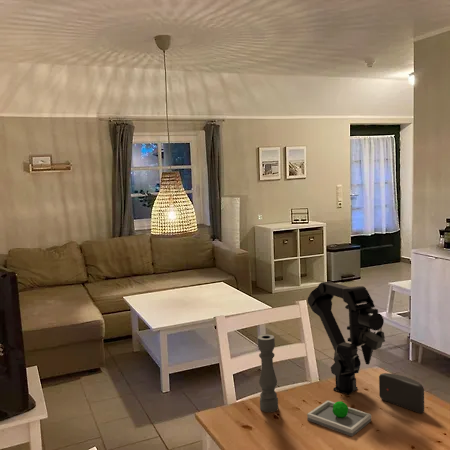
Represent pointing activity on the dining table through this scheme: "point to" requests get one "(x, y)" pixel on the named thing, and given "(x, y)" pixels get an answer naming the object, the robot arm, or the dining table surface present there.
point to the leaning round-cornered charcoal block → (402, 391)
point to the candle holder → (267, 374)
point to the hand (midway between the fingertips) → (360, 368)
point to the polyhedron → (340, 409)
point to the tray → (339, 419)
